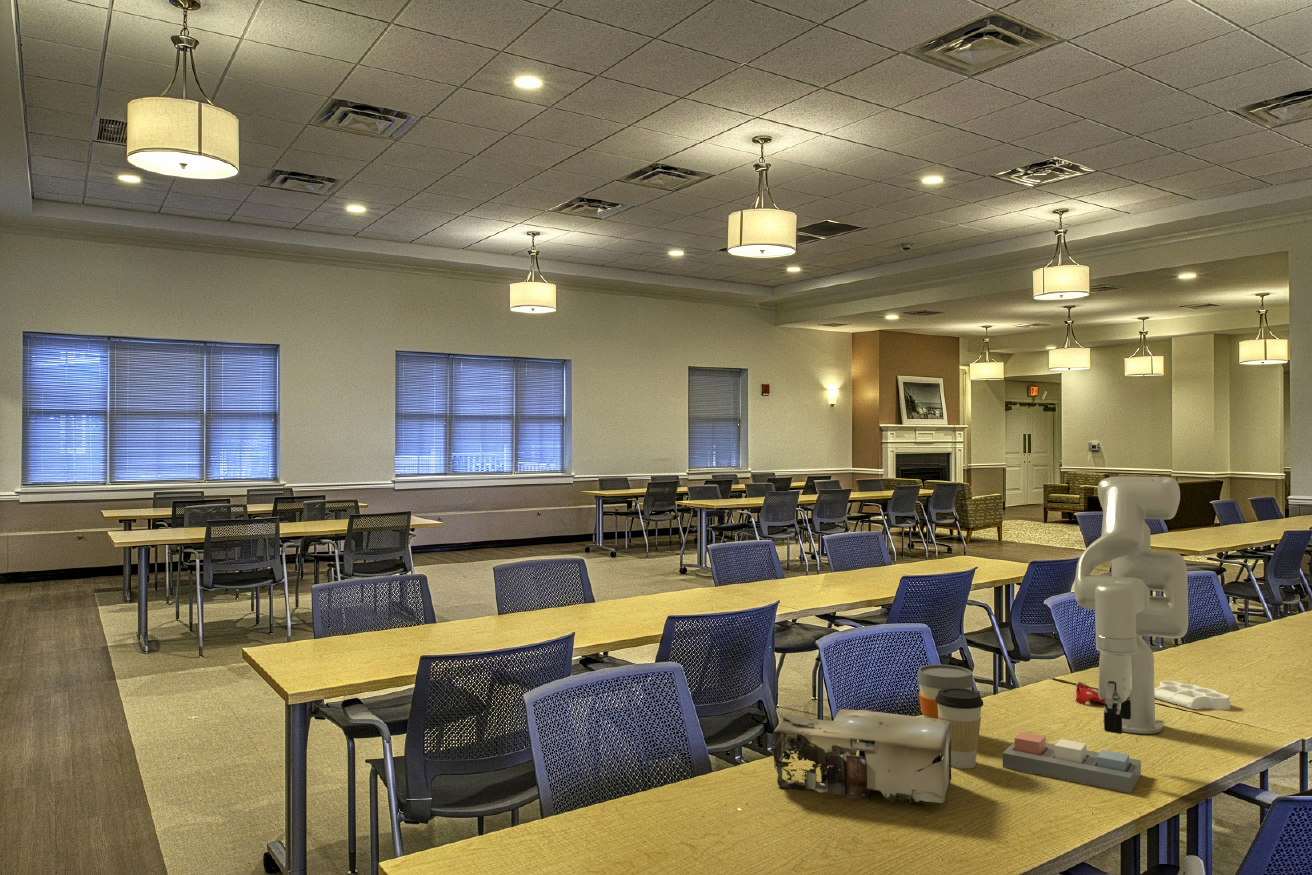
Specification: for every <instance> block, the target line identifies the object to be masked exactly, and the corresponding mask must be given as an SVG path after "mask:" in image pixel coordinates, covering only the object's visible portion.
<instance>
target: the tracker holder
mask: <svg viewBox="0 0 1312 875" xmlns="http://www.w3.org/2000/svg"><path fill="white" fill-rule="evenodd" d="M1075 687H1076V688H1075V694H1076V696H1075V697H1076V698H1075V702H1078V703H1079V702H1080V704H1081V703H1083V704H1082V705H1085V703H1087V702H1091V701H1096V702H1098V703H1102V704H1104V705H1105V698H1104V699H1103V700H1100V699H1099V697H1098V690H1099V689H1096V688H1092V687H1091V688H1090V685H1088V684H1086V683H1084V682H1081V681H1080V680H1079V681H1078V682H1077V683H1076V684H1075Z"/></svg>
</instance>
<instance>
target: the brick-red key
mask: <svg viewBox="0 0 1312 875" xmlns="http://www.w3.org/2000/svg"><path fill="white" fill-rule="evenodd" d="M1046 741H1047V739H1046V735H1040V734H1035V733H1029V732H1024V731H1020V732H1019V733H1018V734H1017V735H1016V736H1015V737H1014V742H1015V751H1019V752H1025V753H1030V754H1035V755H1040V756H1042V755H1043V753H1044V752H1045V751H1046V743H1047V742H1046Z"/></svg>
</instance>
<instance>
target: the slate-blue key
mask: <svg viewBox="0 0 1312 875" xmlns="http://www.w3.org/2000/svg"><path fill="white" fill-rule="evenodd" d="M1098 753H1099V755H1098V756H1097V767H1103V768H1108V769H1113V770H1118V771H1123V772H1128V770H1129V758H1130V754H1127V753H1120V752H1115V751H1110V750H1105V749H1101V751H1100V752H1098Z"/></svg>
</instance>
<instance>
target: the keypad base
mask: <svg viewBox="0 0 1312 875" xmlns="http://www.w3.org/2000/svg"><path fill="white" fill-rule="evenodd" d="M1055 744H1056V743H1055ZM1055 744H1054V743H1049V742H1046V751H1045V752H1044V753H1043V755H1042V756H1040V755H1035V754H1030V753H1025V752H1019V751H1015V741H1014V742H1013V743H1012V744H1010V746H1008V747H1007V748H1006V749H1005V750H1004V751H1003V752H1002V768H1005V769H1009V768H1010V769H1009V770H1014V769H1015V771H1019V772H1024V773H1028V772H1031V773H1030V774H1033V773H1035V774H1034V775H1038V774H1039V776H1043V777H1048V776H1051V777H1050V778H1053V777H1054V779H1059V780H1063V781H1067V780H1069V782H1072V781H1073V782H1072V783H1078V784H1082V785H1083V784H1084V785H1087V784H1088V786H1093V787H1098V788H1102V789H1108V790H1112V791H1117V792H1122V793H1126V794H1131V793H1132V791H1133V789H1135V786H1136V784H1137V783H1138V781H1139V779H1140V778H1141V776H1142V765H1141V764H1142V762H1141V761H1142V760H1140V759H1138V758H1137V759H1136V758H1131V757H1129V770H1128V772H1123V771H1118V770H1113V769H1108V768H1103V767H1097V756H1098V755H1099V753H1100V752H1098V751H1092V750H1087V749H1086V761H1085V762H1084V763H1083V764H1082V763H1077V762H1071V761H1066V760H1061V759H1056V758H1055ZM1127 792H1128V793H1127Z"/></svg>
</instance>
